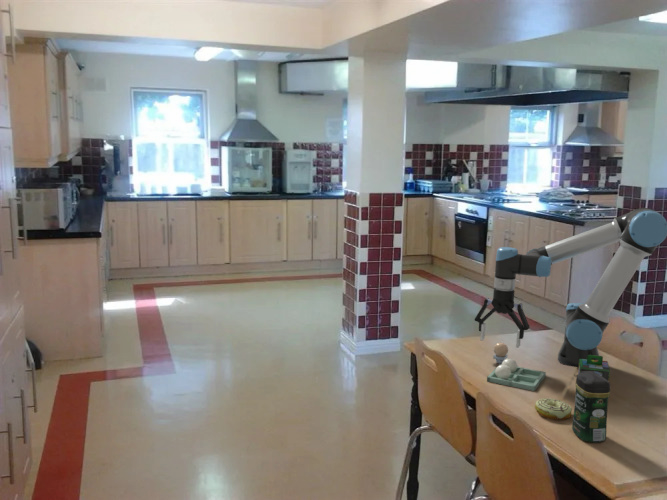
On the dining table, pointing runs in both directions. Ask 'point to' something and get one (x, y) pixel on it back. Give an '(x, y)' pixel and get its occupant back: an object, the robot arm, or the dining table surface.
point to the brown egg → (500, 349)
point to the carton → (520, 378)
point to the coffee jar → (591, 407)
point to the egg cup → (499, 358)
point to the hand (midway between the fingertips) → (500, 343)
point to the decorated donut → (553, 409)
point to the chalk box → (595, 366)
